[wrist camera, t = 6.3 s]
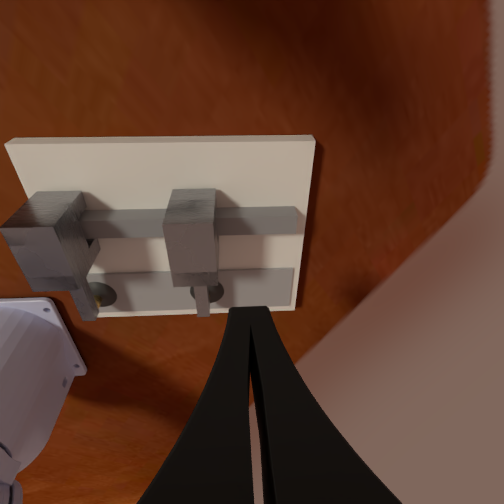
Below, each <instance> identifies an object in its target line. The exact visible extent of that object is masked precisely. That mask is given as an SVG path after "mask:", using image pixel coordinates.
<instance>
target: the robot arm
mask: <svg viewBox="0 0 504 504" xmlns="http://www.w3.org/2000/svg"><path fill="white" fill-rule="evenodd" d="M86 372H87V368H86V366H85V364H84V362H83V360H82V358H81V356H80V354H79V352H78V350H77V348H76V346H75V344H74V342H73V340H72V338H71V336H70V334H69V332H68V330H67V328H66V326H65V324H64V322H63V320H62V318H61V316H60V314H59V312H58V310H57V308H56V306H55V304H54V302H53V301H52V300H51V299H50V298H46V297H40V298H10V299H0V504H22V499H23V493H22V487H21V484H20V483H19V482H18V481H16V480H14V479H15V477H16V474H17V473H18V472H20V471H21V470H23V469H24V468H25V467H27V466H28V465H29V464H30V463H31V462H32V461H33V460H34V459H35V458H36V457H37V456H38V455H39V453H40V452H41V451H42V449H43V448H44V447H45V445H46V443H47V441H48V439H49V437H50V435H51V432H52V430H53V428H54V425H55V423H56V420H57V418H58V415H59V413H60V411H61V408H62V406H63V403H64V401H65V398H66V396H67V394H68V391H69V389H70V386H71V384H72V382H73V379H74V377H75V376H82V375H85V374H86ZM250 374H251V381H252V388H253V395H254V402H255V409H256V416H257V423H258V430H259V438H260V449H261V464H262V482H263V498H264V504H402V503H401V502H400V500H399V499H398V498H397V497H396V496H395V495H394V494H393V493H392V492H391V491H390V490H389V489H388V488H387V487H386V486H385V485H384V484H383V482H381V480H380V479H379V478H378V477H377V476H376V475H375V474H374V473H373V472H372V470H371V469H370V468H369V467H368V466H367V465H366V464H365V462H364V461H363V460H362V459H361V458H360V457H359V456H358V454H357V453H356V452H355V451H354V450H353V448H352V447H351V446H350V445H349V443H348V442H347V441H346V440H345V438H344V437H343V436H342V435H341V433H340V432H339V431H338V430H337V428H336V427H335V426H334V425H333V423H332V422H331V421H330V419H329V418H328V417H327V415H326V414H325V412H324V411H323V410H322V408H321V407H320V405H319V404H318V402H317V401H316V399H315V398H314V397H313V395H312V394H311V392H310V390H309V389H308V388H307V386H306V384H305V383H304V381H303V379H302V378H301V376H300V374H299V373H298V371H297V369H296V367H295V366H294V364H293V362H292V360H291V358H290V356H289V354H288V353H287V351H286V349H285V347H284V345H283V343H282V341H281V339H280V336H279V334H278V332H277V329H276V327H275V325H274V322H273V319H272V316H271V314H270V310H269V308H268V307H267V306H245V307H231V308H230V309H229V311H228V319H227V324H226V329H225V333H224V336H223V340H222V343H221V346H220V349H219V352H218V355H217V358H216V361H215V363H214V366H213V368H212V371H211V373H210V375H209V378H208V380H207V383H206V385H205V387H204V390H203V392H202V394H201V396H200V398H199V400H198V402H197V404H196V406H195V408H194V410H193V412H192V414H191V416H190V418H189V420H188V422H187V424H186V426H185V427H184V429H183V431H182V433H181V435H180V436H179V438H178V440H177V442H176V443H175V445H174V447H173V448H172V450H171V452H170V453H169V455H168V457H167V458H166V460H165V461H164V463H163V465H162V466H161V468H160V469H159V471H158V473H157V474H156V476H155V477H154V479H153V480H152V482H151V484H150V485H149V486H148V488H147V489H146V491H145V492H144V494H143V495H142V497H141V498H140V500H139V501H138V502H137V504H254V493H253V478H252V461H251V445H250V426H249V385H250Z"/></svg>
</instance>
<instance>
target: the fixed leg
mask: <svg viewBox="0 0 504 504" xmlns="http://www.w3.org/2000/svg"><path fill="white" fill-rule="evenodd" d="M86 207H87V206H86V203H85V200H84V197H83V194H82V191H37V192H36V193H34V194H33V195H32V196H31V197H30V198H29V199H28V200H27V201H26V202H25V203H24V204H23V205H22V206H21V207H20V208H19V209H18V210H17V211H16V212H15V213H14V214H13V215H12V216H11V217H10V218H9V219H8V220H7V221H6V222H5V223H4V224H3V225H2V226H1V227H0V231H1V233H2V234H3V236H4V238H5V240H6V242H7V244H8V246H9V247H10V249H11V251H12V253H13V255H14V257H15V259H16V260H17V262H18V264H19V266H20V268H21V270H22V272H23V273H24V275H25V277H26V279H27V281H28V283H29V285H30V286H31V288H32V290H33V292H36V291H68V290H69V291H70V293H71V295H72V298H73V300H74V302H75V304H76V307H77V309H78V311H79V313H80V315H81V318H82V320H83V321H96V318H97V316H98V314H99V307H100V305H101V303H102V300H103V299H102V297H101V296H99V295H94V296H93V294H92V291H91V289H90V286H89V283H88V281H87V278H86V277H87V275H88V273H89V271H90V269H91V267H92V265H93V263H94V261H95V259H96V257H97V255H98V254H99V252H100V250H101V248H100V245H99V242H98V239H86V238H85V235H84V232H83V230H82V227H81V224H80V221H79V217H80V216H81V214H82V213H83V211H84V210H85V208H86Z"/></svg>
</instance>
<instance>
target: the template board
mask: <svg viewBox="0 0 504 504" xmlns="http://www.w3.org/2000/svg"><path fill="white" fill-rule="evenodd" d="M315 142H316V141H315V139H314V138H313V136H312V135H261V136H157V137H53V138H13V139H12V140H10V141H9V142H7V143H5V144H4V145H5V147H6V150H7V152H8V154H9V156H10V158H11V161H12V163H13V165H14V167H15V170H16V172H17V174H18V176H19V179H20V181H21V183H22V185H23V188H24V190H25V192H26V194H27V197H28V199H29V198H30V197H31V196H32V195H33V194H34V193H36V192H37V191H82V194H83V197H84V200H85V203H86V206H87V207H86V208H85V210H84V211H83V213H82V214H81V216H80V217H79V221H80V224H81V227H82V230H83V232H84V235H85V238H86V239H98V242H99V245H100V248H101V250H100V252H99V254H98V255H97V257H96V259H95V261H94V263H93V265H92V267H91V269H90V271H89V273H88V275H87V277H86V278H87V281H88V283H89V286H90V289H91V291H92V294H93V296H94V295H99V296H101V297H102V299H103V300H102V303H101V305H100V307H99V314H98V316H97V317H118V316H146V315H174V314H197V309H196V301H195V294H194V287H173V282H172V277H171V271H170V266H169V260H168V255H167V249H166V244H165V239H164V233H163V228H162V223H163V219H164V216H165V213H166V209H167V206H168V203H169V199H170V196H171V193H172V190H173V189H205V188H216V200H217V209H216V222H217V236H219V269H218V286H208V289H209V294H210V313H228V311H229V309H230V308H231V307H245V306H267V307H268V308H269V310H270V311H286V310H295V304H296V296H297V287H298V279H299V271H300V263H301V255H302V247H303V239H304V231H305V223H306V215H307V207H308V199H309V191H310V183H311V175H312V167H313V159H314V151H315Z"/></svg>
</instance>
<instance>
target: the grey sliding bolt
mask: <svg viewBox="0 0 504 504" xmlns="http://www.w3.org/2000/svg"><path fill="white" fill-rule="evenodd" d="M216 209H217V200H216V188H205V189H173V190H172V193H171V196H170V199H169V203H168V206H167V209H166V213H165V216H164V219H163V223H162V228H163V233H164V239H165V244H166V249H167V255H168V260H169V266H170V271H171V277H172V282H173V287H194V294H195V301H196V309H197V316H198V317H208V316H210V294H209V289H208V286H218V269H219V236H217V222H216Z"/></svg>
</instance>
